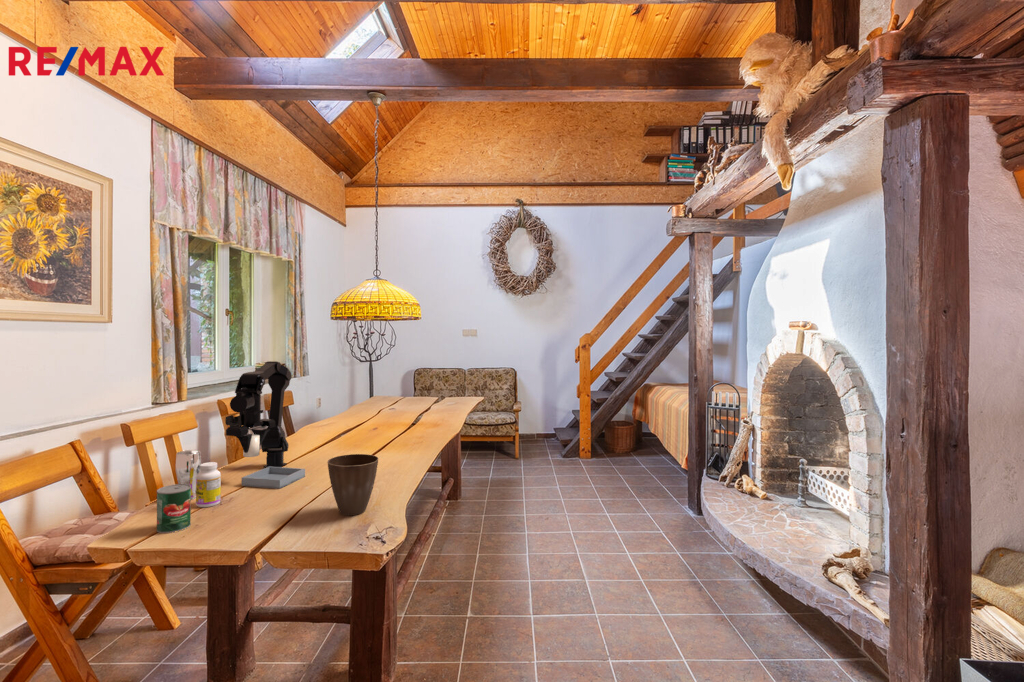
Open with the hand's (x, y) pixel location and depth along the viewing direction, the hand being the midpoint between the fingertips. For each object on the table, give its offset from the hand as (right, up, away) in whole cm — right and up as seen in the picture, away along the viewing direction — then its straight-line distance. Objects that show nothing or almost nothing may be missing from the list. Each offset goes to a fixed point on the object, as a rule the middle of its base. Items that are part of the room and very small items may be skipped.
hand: (251, 450), depth 180 cm
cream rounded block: (0, -2, 0) cm, 2 cm away
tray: (+8, -12, +2) cm, 14 cm away
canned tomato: (0, -12, -42) cm, 44 cm away
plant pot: (+46, -13, -27) cm, 55 cm away
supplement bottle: (-1, -12, -23) cm, 26 cm away
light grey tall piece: (-12, -12, -17) cm, 24 cm away
